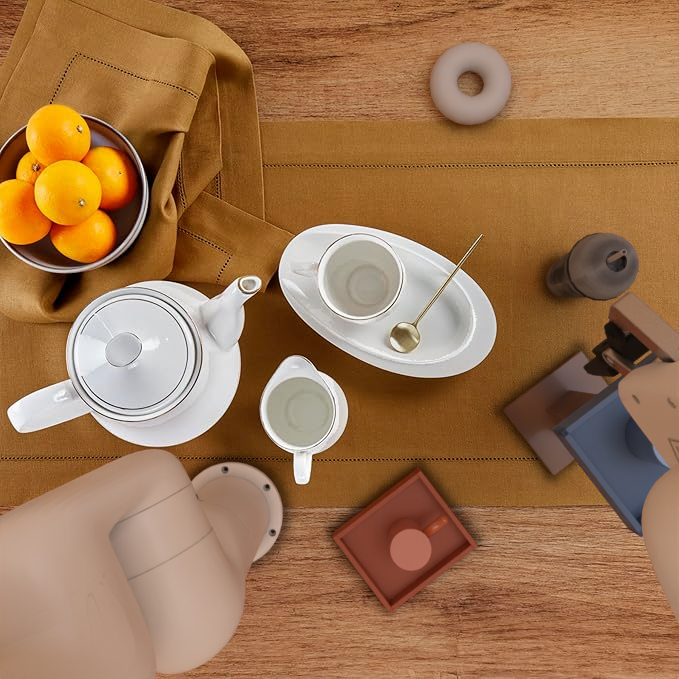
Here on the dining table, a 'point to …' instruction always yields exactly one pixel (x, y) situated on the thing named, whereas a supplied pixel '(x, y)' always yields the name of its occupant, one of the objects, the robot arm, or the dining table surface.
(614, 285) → the beverage cup
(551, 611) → the dining table surface
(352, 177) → the dining table surface
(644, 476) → the blue tray
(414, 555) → the rust mug
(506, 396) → the dining table surface
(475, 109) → the donut
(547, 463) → the stand
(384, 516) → the rust tray
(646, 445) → the blue mug
